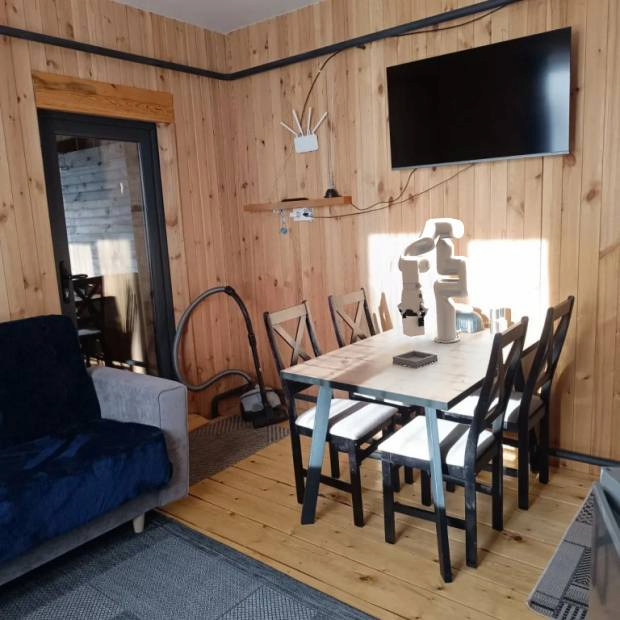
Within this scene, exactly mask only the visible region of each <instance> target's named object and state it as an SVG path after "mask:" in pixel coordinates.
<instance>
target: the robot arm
mask: <svg viewBox="0 0 620 620" xmlns="http://www.w3.org/2000/svg"><path fill="white" fill-rule="evenodd" d="M464 231H465V228H464V224H463V222H462V221H461V220H459V219H454V218H449V217H448V218H433V219H432V218H431V219H429V220H427V221H426V222H425V223H424V226H423V228H422V230H421V232H420V234H419V237H418V239H416V240H414V241H413V242H411V243H410V244H409V245H407V246H406V247H404V248H403V250H402V252H401V254H400V257H398V258H399V259H398V263H397V267H398V269H399V270H398V271H400V272H401V277H402V279H401V280H402V281H401V282H402V290H401V297H400V298H401V299H400V301H401V302H400V303H398V304H397V306H396V307H397V308H398V311H399V313H400V316H401V321H402V325H403V320H402V319H403V318H406V309H411V310H413V312H414V313H417V314H418V316H419V318H418V326H419V327H421V326H424V327H425V317H426V315H427V314H428V311H429V307H428V306H426V305H425V297H424V292H423V290H422V284H421V278H420V277H421V275H420V274H422V273H423V274H425V273H427V272H429V270H430V269H431V264H432V263H431V262H432V261H431V260H430V258H429V257H428V256H426V255H424V254H427V253H429V252H431V251H433V250H434V249H435V248H436V249H435V250H436V251H435V252H436V253H435V254H436V260H435V261H436V272H437V274H438V275H440V276H445V277H446V276H447V278H439V279H436V280H435V281H434V283H433V287H432V288H433V293H434V294H433V295H434V298H435V306H436V307H435V309H436V331H437V332H436V334H437V336H435V337H434V342H437V343H440V342H441V343H443V344H447V343H449V344H451V343H457V342H460V340H461V338H460V336H458V335H459V334H462V332H463V330H462V329H459V330H458V329H457V311H456V310H457V308H456V304H455V301H454V300H453V299H452V298H458V299H459V298H461V299H462V298H466V297H468V296H469V293H470V283H471V282H470V275H471V274H470V271H471V270H470V262H469V259H468V257H465V256H461V255H456V256H455V249H454V248H455V246H454V244H453V243H452V241H451V239H452V240H453V239H460V238H462V237H463V236H464ZM448 276H449V278H448ZM450 276H451V277H453V276H455V278H450ZM456 277H458V278H456Z"/></svg>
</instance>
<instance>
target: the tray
mask: <svg viewBox="0 0 620 620" xmlns="http://www.w3.org/2000/svg"><path fill="white" fill-rule="evenodd" d="M435 361H437V362H438V361H439V357H438V354H435V353H430V352H425V351H419V350H414V349H413V350H410V351H407V352H403V353H401V354H398V355H394V356H392V364H394V363H397V364H396V365H399V364H401V365H400V366H403V365H406V366H405V367H408V366H410V367H409V368H412V367H416V368H415V369H418V368H417V367H419V368H421V367H420V366H422V367H425V366H428V365H431V364H433V363H432V362H434V363H436V362H435ZM430 363H431V364H430ZM427 364H428V365H427ZM424 365H425V366H424Z"/></svg>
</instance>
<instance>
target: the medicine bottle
mask: <svg viewBox="0 0 620 620" xmlns="http://www.w3.org/2000/svg"><path fill="white" fill-rule="evenodd" d="M418 318H419V316H418V314H417V313H414V312H413V310H411V309H406V318H403V319H402V318H401V321H402V320H403V324H402V332H403V335H405V336H407V337H418V336H424V335H425V333H426V332H425V325H424V326H421V327H419V326H418Z"/></svg>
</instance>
